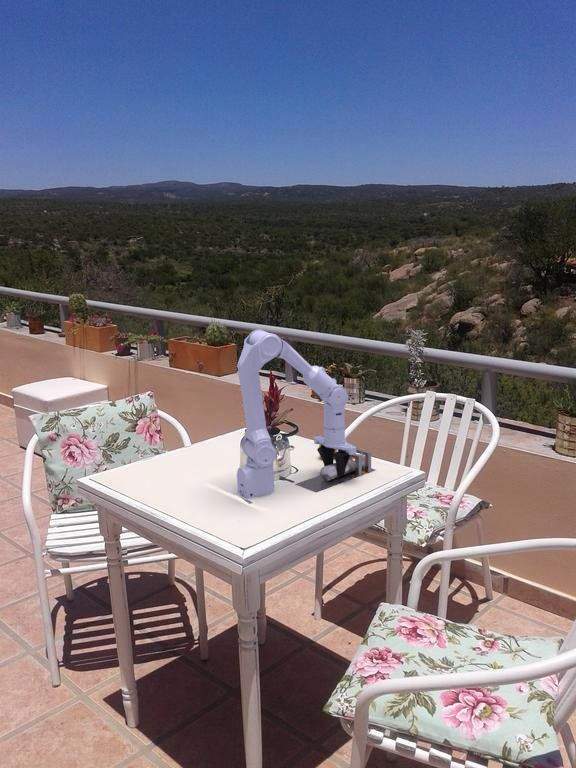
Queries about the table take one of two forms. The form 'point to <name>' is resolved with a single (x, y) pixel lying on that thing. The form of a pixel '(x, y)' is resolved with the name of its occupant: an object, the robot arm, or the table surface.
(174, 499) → the table surface
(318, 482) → the grey holder stand
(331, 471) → the tube
